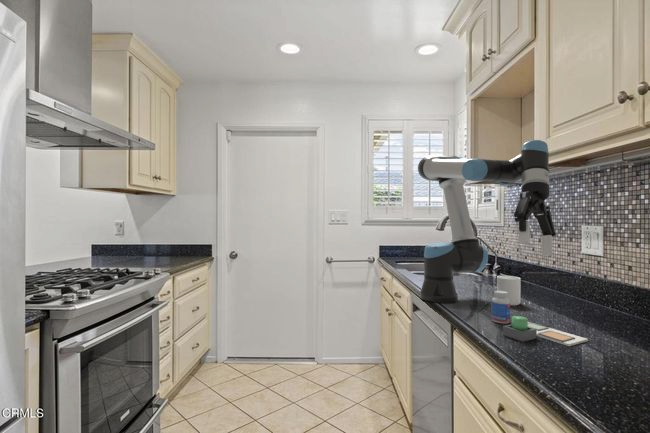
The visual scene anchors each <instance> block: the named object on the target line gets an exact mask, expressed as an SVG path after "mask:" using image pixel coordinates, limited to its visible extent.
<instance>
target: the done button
mask: <svg viewBox="0 0 650 433" xmlns="http://www.w3.org/2000/svg"><path fill="white" fill-rule="evenodd" d="M528 319H529V318H527V317H525V316H521V315H512V316H511V324H512V328H514V329H517V330H520V331H525V330H528V322H529V320H528Z"/></svg>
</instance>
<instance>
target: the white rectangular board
mask: <svg viewBox="0 0 650 433" xmlns="http://www.w3.org/2000/svg"><path fill="white" fill-rule="evenodd" d="M528 327H531V328H534V329H537V335H536V337H539V338H541V339H545V340H548V341H552V342H554V343H556V344H560V345H563V346H567V347H572V346H576V345H579V344H581V343H586V342H588V341H589V339H588V338H586V337H582V336H578V335H576V334H572V333H568V332H565V331H562V330H559V329H556V328H552V327H547V326H544V325H542V324H538V323H534V322H531V321H528Z"/></svg>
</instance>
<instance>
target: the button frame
mask: <svg viewBox="0 0 650 433" xmlns="http://www.w3.org/2000/svg"><path fill="white" fill-rule="evenodd" d="M502 328H503V329H502V330H503V331H502V334H503V335H502V336H506V337H508V338H511V339H514V340H517V341H519V342H529V341H532V340H535V339H537V336H536V335H537V329H534V328H531V327H528V330H525V331H520V330H517V329H514V328H512V323H511V324H507V325H506V324H505V325H503V327H502Z"/></svg>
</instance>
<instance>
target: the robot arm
mask: <svg viewBox="0 0 650 433" xmlns="http://www.w3.org/2000/svg"><path fill="white" fill-rule="evenodd" d="M548 146H549V145H548V143H547V142H545V141H543V140H541V139H532V140H528V141H526V142H525V143H523V145H522V146H521V149H520V151H521V153H520V154H518V155H517V156H515V157H514V158H512V159H509V160H507V159H485V158H469V159H468V158H467V159H466V158H464V157H462V156H457V155H451V156H450V155H437V154H431V155H427V156H425V157H423V158H422V159H421V160H419V163H418V165H417V172H418V174H419V176H420V177H421V178H422V179H424V180H427V181H430V182H431V181H433V182H438V187H440V188H439V189H442V190H443V194H444V198H445V203H446V209H447V214H448V219H449V224H450V226H449V227H450V230H451V236H452V240H451V241H443V242H442V241H441V242H433V243H427V245H425V246H424V252H423V258H424V259H423V269H424V271H423V275H424V277H423V278H424V279H423V282H422V286H421V289H420V291H419V298H420V299H421V300H423V301H426V302H431V303H439V304H441V303H442V304H450V303H456V302H458V300H459V296H458V292H457V291H456V289H457V288H456V285H455V283H454V282H455V281H454V274H466V273H470V274H472V273H479V272H482V271H483V270H484V269H485V268H486V266H487V265H488V261H489V254H488V253H489V252H488V249H487V248H486V247H485V246H484V245H482V244H480V241H479V238H477V237H476V236H475V234H474V231H473V227H472V222H471V216H470V212H469V207H468V202H467V196H466V193H465V187H464V185H465V184H466V182H467V181H471V182H495V183H496V184H498V185H500V186H503V187H507V186H510V185H513V184H515V183H517V182H518V181H520V180H521V192H520V194H519V200H518V202H517V205H516V208H515V211H514V213H513V216H514V221H515V222H516V223H518V244H530V242H531V240H530V236H531V235H530V234H531V233H530V231H531V230H530V228H531V227H530V223H531V222H530V221H529V218H530V217H531V215H533V217H534V218H535V219H537V222H538V225H539V227H540V231H541V233H542V235H541V256H542V257H553V237H556V236H557V235H556V234H557V233H556V230H555V225H554V221H553V218H552V213H551V207H550V205H546V204H545V201H546V200H547V199H548V198H549V197H550V185H549V184H550V176H551V173H550V171H549V169H550V167H549V166H550V164H549V155H550V153H549V147H548Z"/></svg>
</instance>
